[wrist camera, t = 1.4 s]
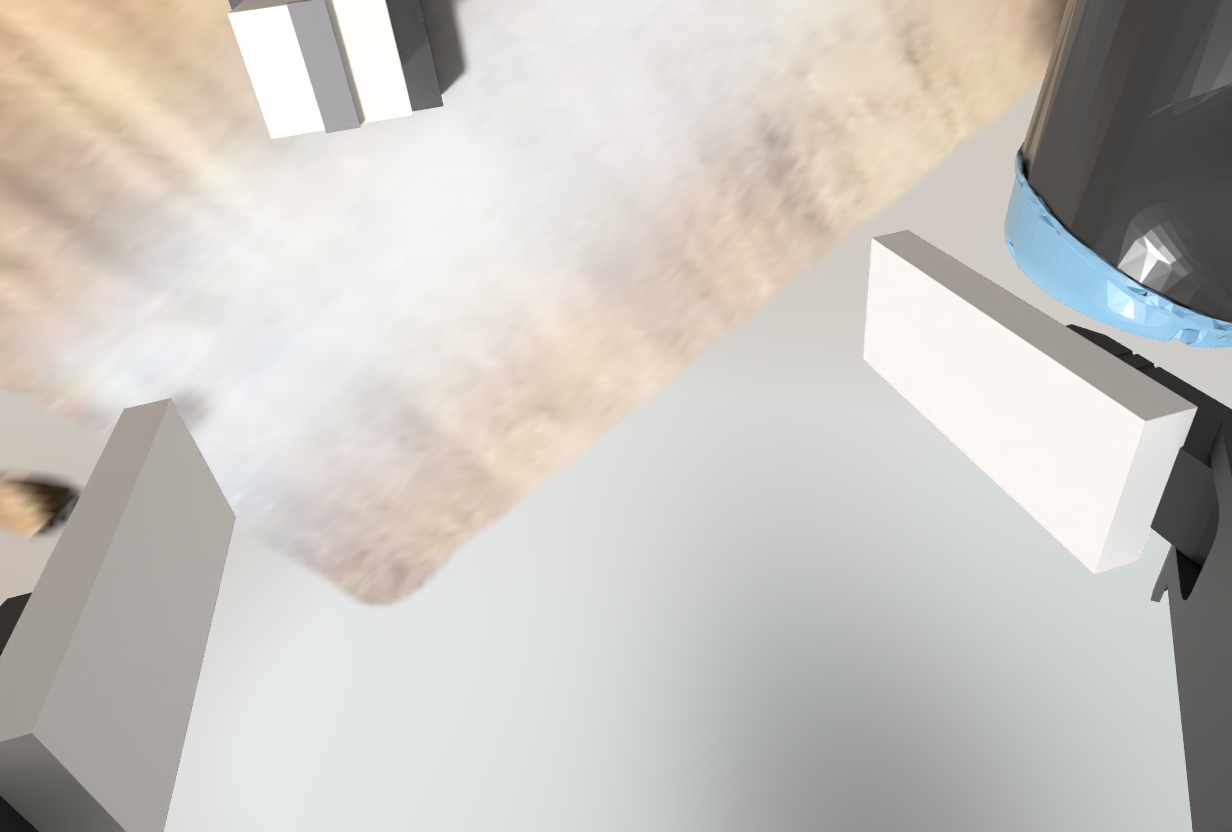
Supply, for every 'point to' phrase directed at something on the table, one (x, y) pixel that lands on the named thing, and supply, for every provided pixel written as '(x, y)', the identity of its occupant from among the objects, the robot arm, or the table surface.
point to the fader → (321, 63)
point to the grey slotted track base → (411, 52)
